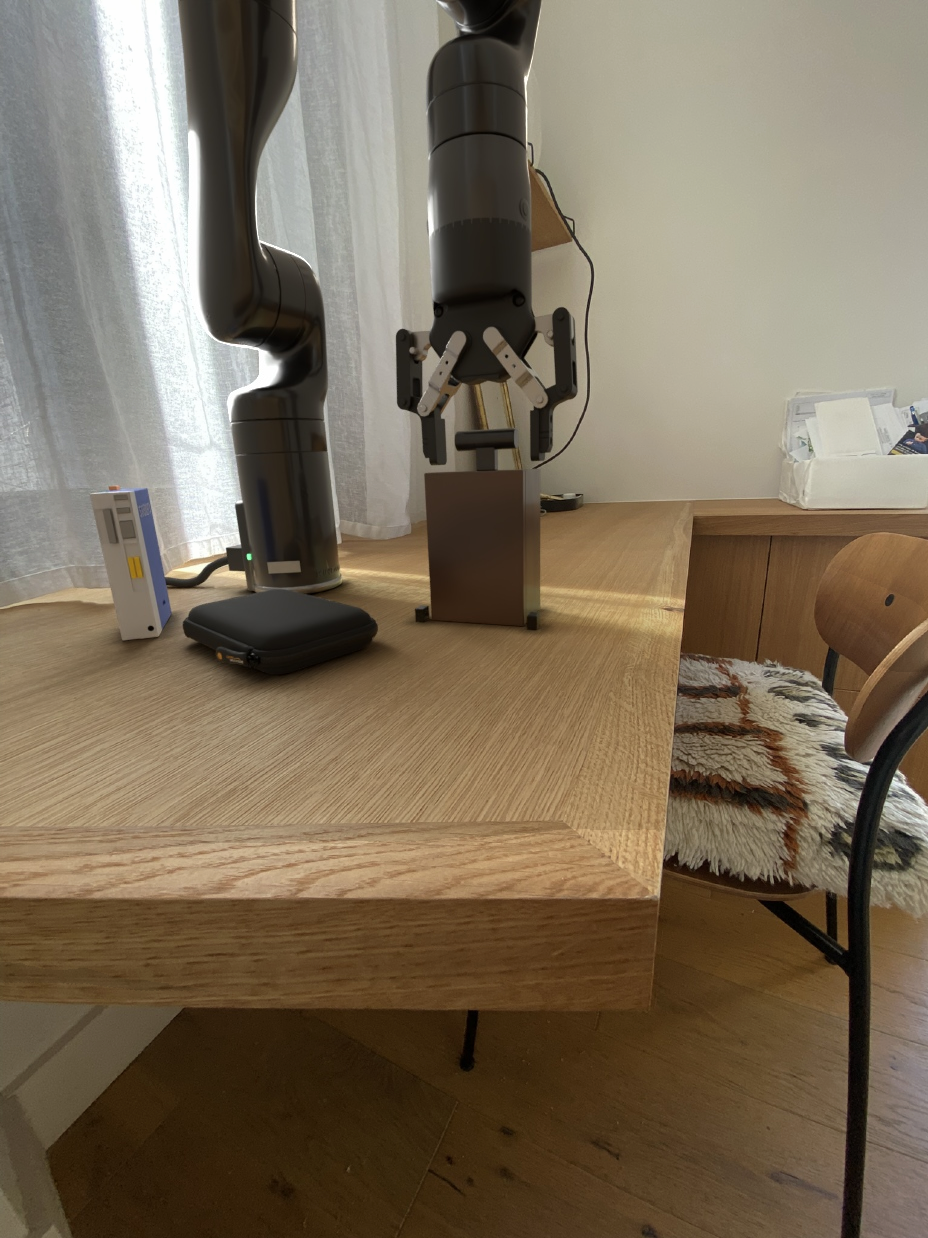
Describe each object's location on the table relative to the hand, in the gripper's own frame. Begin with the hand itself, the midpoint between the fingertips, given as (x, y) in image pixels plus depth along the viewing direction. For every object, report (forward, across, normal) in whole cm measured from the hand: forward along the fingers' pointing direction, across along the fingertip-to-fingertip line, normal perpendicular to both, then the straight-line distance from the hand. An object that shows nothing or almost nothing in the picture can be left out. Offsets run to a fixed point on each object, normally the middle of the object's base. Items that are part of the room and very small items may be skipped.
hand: (486, 463), depth 45 cm
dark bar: (+13, 0, +4) cm, 13 cm away
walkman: (+13, +28, +11) cm, 33 cm away
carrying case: (+13, +13, +13) cm, 22 cm away
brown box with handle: (+5, 0, +4) cm, 6 cm away
